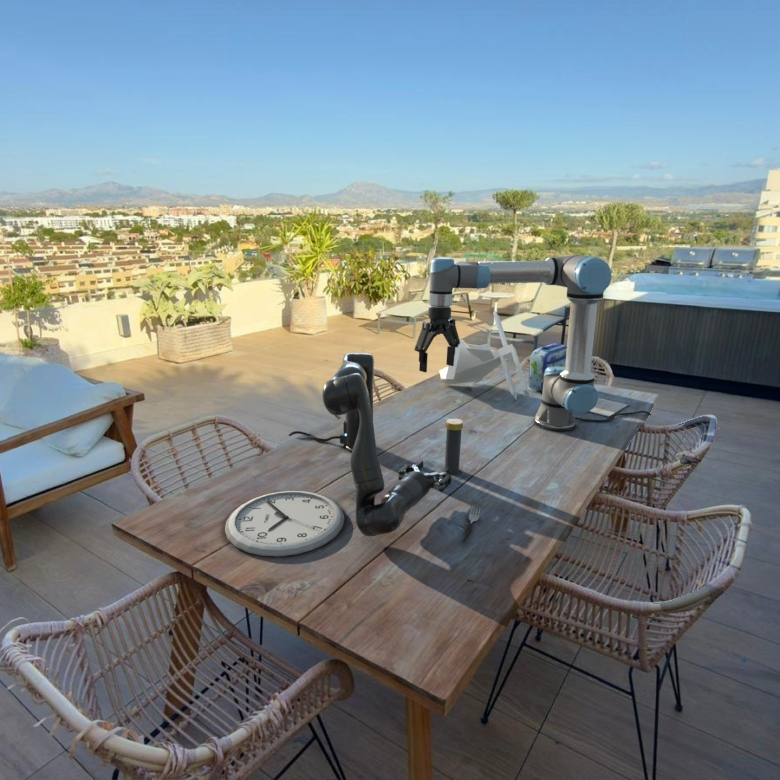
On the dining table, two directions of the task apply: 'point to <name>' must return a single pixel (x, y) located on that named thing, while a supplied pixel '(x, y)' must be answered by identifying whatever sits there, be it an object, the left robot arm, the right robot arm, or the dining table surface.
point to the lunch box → (545, 363)
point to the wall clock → (284, 523)
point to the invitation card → (607, 407)
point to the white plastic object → (483, 362)
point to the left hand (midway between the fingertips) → (435, 467)
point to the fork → (472, 519)
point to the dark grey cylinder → (453, 450)
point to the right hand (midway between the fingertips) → (436, 368)
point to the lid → (454, 424)
